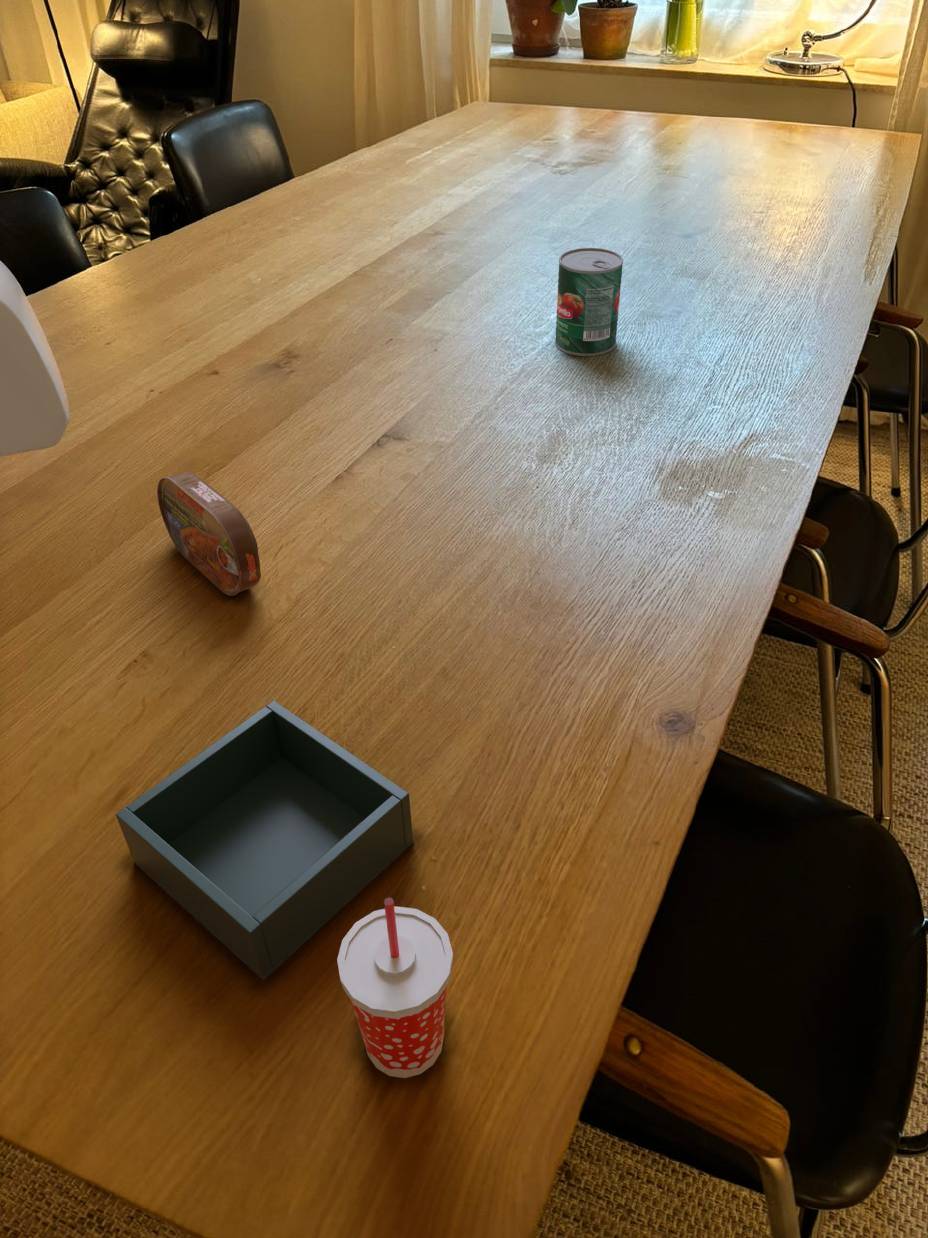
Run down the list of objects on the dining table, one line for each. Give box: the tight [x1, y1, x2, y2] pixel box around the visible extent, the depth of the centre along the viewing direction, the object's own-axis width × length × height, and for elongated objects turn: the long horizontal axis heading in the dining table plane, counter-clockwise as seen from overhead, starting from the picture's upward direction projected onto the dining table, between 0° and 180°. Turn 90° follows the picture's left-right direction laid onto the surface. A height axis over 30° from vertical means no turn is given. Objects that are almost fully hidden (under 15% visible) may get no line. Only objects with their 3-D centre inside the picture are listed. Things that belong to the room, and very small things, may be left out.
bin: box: [115, 700, 414, 981], centre depth 67 cm, size 14×14×5 cm
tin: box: [156, 471, 262, 597], centre depth 91 cm, size 15×3×8 cm, turn 40°
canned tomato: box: [554, 247, 624, 357], centre depth 125 cm, size 8×8×11 cm
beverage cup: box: [336, 897, 454, 1079], centre depth 54 cm, size 6×6×14 cm
